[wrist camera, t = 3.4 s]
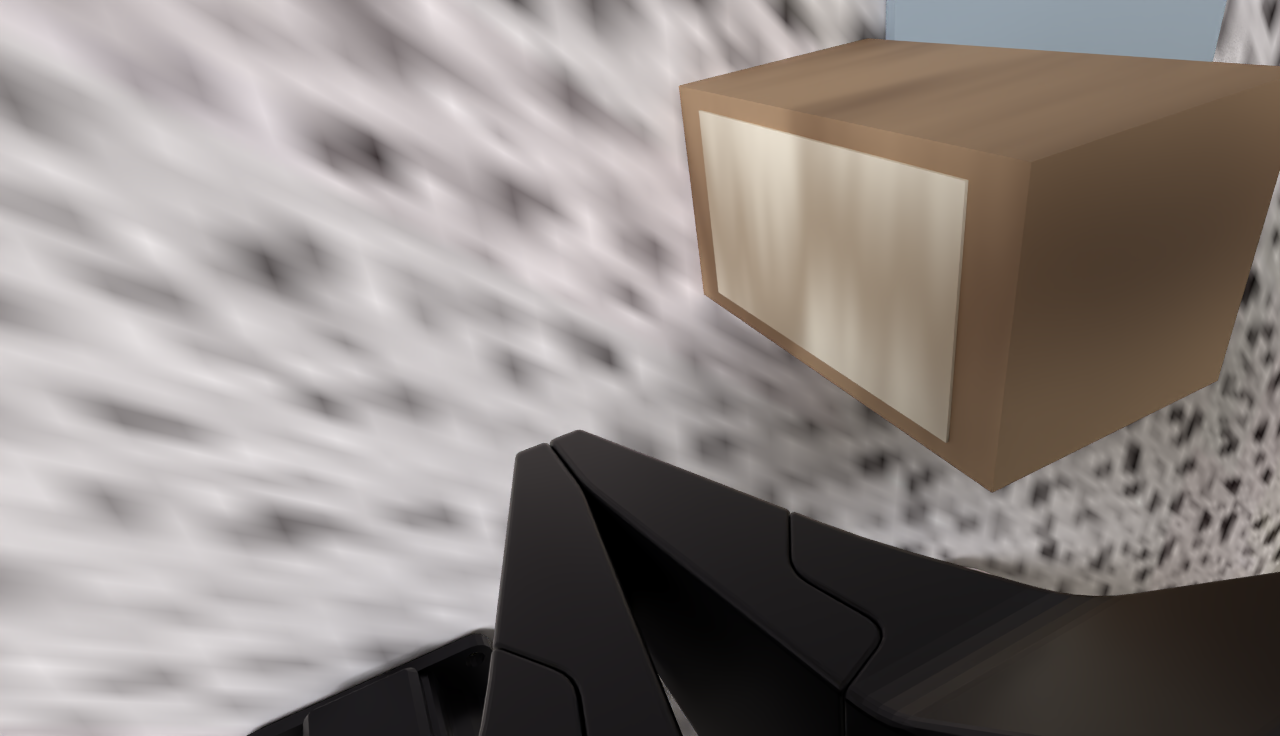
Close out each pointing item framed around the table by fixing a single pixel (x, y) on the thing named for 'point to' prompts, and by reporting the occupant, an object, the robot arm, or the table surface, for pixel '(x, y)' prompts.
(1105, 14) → the pad
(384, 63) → the table surface
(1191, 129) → the brown rectangular block
